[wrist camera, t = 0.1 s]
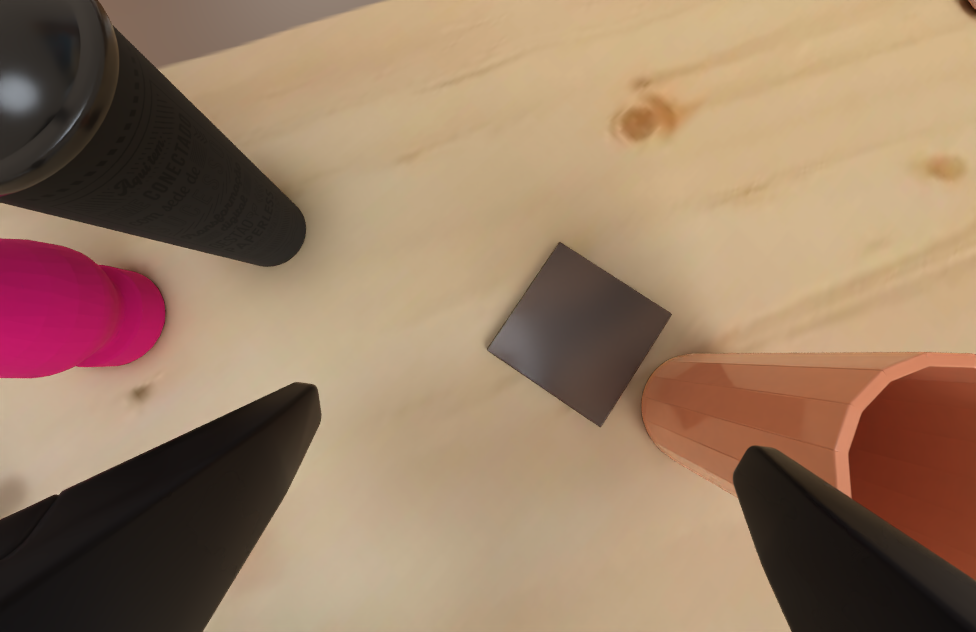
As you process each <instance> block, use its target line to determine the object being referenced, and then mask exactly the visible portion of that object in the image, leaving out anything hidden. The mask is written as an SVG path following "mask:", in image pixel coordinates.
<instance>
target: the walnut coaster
mask: <svg viewBox="0 0 976 632" xmlns="http://www.w3.org/2000/svg"><path fill="white" fill-rule="evenodd" d="M671 315H672V314H671V313H670V312H668V311H666V310H665V309H663V308H662V307H660V306H659V305H657V304H656V303H654V302H652V301H651V300H649V299H648V298H646V297H645V296H643V295H642V294H640V293H638V292H637V291H635V290H634V289H632V288H631V287H629V286H628V285H626V284H624V283H623V282H621V281H620V280H618V279H617V278H615V277H614V276H612V275H610V274H609V273H607V272H606V271H604V270H603V269H601V268H600V267H598V266H596V265H595V264H593V263H592V262H590V261H589V260H587V259H585V258H584V257H582V256H581V255H579V254H578V253H576V252H575V251H573V250H571V249H570V248H568V247H567V246H565V245H564V244H562V243H561V242H559V244H558V245H557V247H556V248H555V249H554V251H553V252H552V254H551V255H550V257H549V258H548V260H547V261H546V263H545V264H544V266H543V267H542V269H541V270H540V272H539V273H538V275H537V276H536V278H535V279H534V281H533V282H532V284H531V285H530V286H529V288H528V289H527V291H526V292H525V294H524V295H523V297H522V298H521V300H520V301H519V303H518V304H517V306H516V307H515V309H514V310H513V312H512V313H511V315H510V316H509V318H508V319H507V320H506V322H505V323H504V325H503V326H502V328H501V329H500V331H499V332H498V334H497V335H496V337H495V338H494V340H493V341H492V343H491V344H490V346H489V347H488V349H487V350H488V351H489V352H491V353H492V354H493V355H495V356H496V357H498V358H499V359H501V360H502V361H504V362H505V363H507V364H508V365H510V366H511V367H513V368H514V369H515V370H517V371H518V372H520V373H521V374H523V375H524V376H526V377H527V378H529V379H530V380H532V381H533V382H535V383H536V384H537V385H539V386H540V387H542V388H543V389H545V390H546V391H548V392H549V393H551V394H552V395H554V396H555V397H557V398H558V399H559V400H561V401H562V402H564V403H565V404H567V405H568V406H570V407H571V408H573V409H574V410H576V411H577V412H579V413H580V414H581V415H583V416H584V417H586V418H587V419H589V420H590V421H592V422H593V423H595V424H596V425H598V426H599V427H601V426H602V425H603V423H604V421H605V420H606V418H607V417H608V415H609V414H610V412H611V410H612V409H613V407H614V406H615V404H616V402H617V401H618V399H619V398H620V396H621V394H622V393H623V391H624V390H625V388H626V387H627V385H628V383H629V382H630V380H631V379H632V377H633V375H634V374H635V372H636V371H637V369H638V368H639V366H640V364H641V363H642V361H643V360H644V358H645V356H646V355H647V353H648V352H649V350H650V348H651V347H652V345H653V344H654V342H655V341H656V339H657V337H658V336H659V334H660V333H661V331H662V329H663V328H664V326H665V325H666V323H667V321H668V320H669V318H670V317H671Z"/></svg>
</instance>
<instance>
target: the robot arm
mask: <svg viewBox="0 0 976 632" xmlns="http://www.w3.org/2000/svg"><path fill="white" fill-rule="evenodd" d="M320 421H321V408H320V401H319V394H318V389H317V387H316V386H315V385H313V384H308V383H301V382H295V383H292V384H290V385H288V386H286V387H284V388H281V389H279V390H277V391H275V392H273V393H271V394H269V395H267V396H264V397H262V398H260V399H258V400H256V401H254V402H252V403H249V404H247V405H245V406H243V407H241V408H239V409H237V410H234V411H232V412H230V413H228V414H226V415H224V416H222V417H220V418H217V419H215V420H213V421H211V422H209V423H207V424H205V425H202V426H200V427H198V428H196V429H194V430H192V431H190V432H187V433H185V434H183V435H181V436H179V437H177V438H175V439H172V440H170V441H168V442H166V443H164V444H162V445H160V446H158V447H155V448H153V449H151V450H149V451H147V452H145V453H143V454H140V455H138V456H136V457H134V458H132V459H130V460H128V461H125V462H123V463H121V464H119V465H117V466H115V467H113V468H110V469H108V470H106V471H104V472H102V473H100V474H98V475H95V476H93V477H91V478H89V479H87V480H85V481H83V482H80V483H78V484H76V485H74V486H72V487H70V488H68V489H65V490H64V491H62V492H61V493H60V494H59V495H52V496H50V497H48V498H46V499H44V500H42V501H40V502H38V503H35V504H33V505H31V506H29V507H27V508H25V509H23V510H20V511H18V512H16V513H14V514H12V515H10V516H7V517H5V518H3V519H1V520H0V632H203V630H204V628H205V627H206V625H207V624H208V622H209V620H210V619H211V617H212V615H213V614H214V612H215V610H216V609H217V607H218V605H219V604H220V602H221V601H222V599H223V597H224V596H225V594H226V592H227V591H228V589H229V587H230V586H231V584H232V582H233V581H234V579H235V577H236V576H237V574H238V573H239V571H240V569H241V568H242V566H243V564H244V563H245V561H246V559H247V558H248V556H249V554H250V553H251V551H252V550H253V548H254V546H255V545H256V543H257V541H258V540H259V538H260V536H261V535H262V533H263V531H264V530H265V528H266V527H267V525H268V523H269V522H270V520H271V518H272V517H273V515H274V513H275V512H276V510H277V508H278V507H279V505H280V503H281V502H282V500H283V498H284V496H285V495H286V493H287V491H288V489H289V487H290V485H291V483H292V481H293V479H294V477H295V475H296V473H297V471H298V469H299V466H300V464H301V462H302V460H303V458H304V456H305V454H306V452H307V450H308V448H309V446H310V444H311V441H312V439H313V437H314V435H315V433H316V431H317V429H318V427H319V424H320ZM733 485H734V488H735V491H736V494H737V496H738V499H739V502H740V505H741V508H742V511H743V514H744V516H745V519H746V522H747V525H748V528H749V531H750V534H751V536H752V539H753V542H754V545H755V548H756V551H757V553H758V556H759V559H760V561H761V564H762V566H763V569H764V571H765V574H766V576H767V578H768V581H769V583H770V585H771V587H772V589H773V592H774V594H775V596H776V598H777V600H778V603H779V605H780V607H781V609H782V612H783V614H784V616H785V618H786V620H787V623H788V625H789V627H790V629H791V631H792V632H976V580H974V579H973V578H971V577H970V576H968V575H967V574H965V573H964V572H962V571H961V570H959V569H958V568H956V567H955V566H953V565H952V564H950V563H949V562H947V561H946V560H944V559H943V558H941V557H939V556H938V555H936V554H935V553H933V552H932V551H930V550H929V549H927V548H926V547H924V546H923V545H921V544H920V543H918V542H917V541H915V540H914V539H912V538H911V537H909V536H908V535H906V534H905V533H903V532H902V531H900V530H899V529H897V528H896V527H894V526H893V525H891V524H890V523H888V522H887V521H885V520H883V519H882V518H880V517H879V516H877V515H876V514H874V513H873V512H871V511H870V510H868V509H867V508H865V507H864V506H862V505H861V504H859V503H858V502H856V501H855V500H853V499H852V498H850V497H849V496H847V495H846V494H844V493H843V492H841V491H840V490H838V489H837V488H835V487H834V486H832V485H830V484H829V483H827V482H826V481H824V480H823V479H821V478H820V477H818V476H817V475H815V474H814V473H812V472H811V471H809V470H808V469H806V468H805V467H803V466H802V465H800V464H799V463H797V462H796V461H794V460H793V459H791V458H790V457H788V456H787V455H785V454H784V453H782V452H781V451H779V450H777V449H775V448H772V447H765V446H758V445H753V446H751V447H749V448H748V449H747V450H746V452H745V453H744V455H743V457H742V458H741V460H740V462H739V464H738V465H737V467H736V469H735V470H734V472H733Z"/></svg>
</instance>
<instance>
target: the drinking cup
mask: <svg viewBox="0 0 976 632" xmlns="http://www.w3.org/2000/svg"><path fill="white" fill-rule="evenodd" d="M0 203H5V204H9V205H13V206H17V207H21V208H25V209H29V210H33V211H37V212H41V213H46V214H50V215H54V216H58V217H62V218H66V219H70V220H74V221H78V222H82V223H86V224H91V225H95V226H99V227H103V228H107V229H111V230H115V231H119V232H123V233H127V234H132V235H136V236H140V237H144V238H148V239H152V240H156V241H160V242H164V243H168V244H173V245H177V246H181V247H185V248H189V249H193V250H197V251H201V252H205V253H209V254H213V255H218V256H222V257H226V258H230V259H234V260H238V261H242V262H246V263H250V264H254V265H259V266H266V267H269V266H276V265H279V264H282V263H284V262H286V261H288V260H289V259H291V258H292V257H293V256H294V255H295V254H296V253H297V252H298V251H299V249H300V248H301V246H302V244H303V242H304V239H305V234H306V225H305V220H304V217H303V215H302V213H301V211H300V210H299V208H298V207H297V206H296V205H295V204H294V203H293V202H292V201H291V200H290V199H289V198H288V197H287V196H286V195H285V194H284V193H283V192H282V191H281V190H280V189H279V188H278V187H277V186H275V185H274V184H273V183H272V182H271V181H270V180H269V179H268V178H267V177H266V176H265V175H264V174H263V173H262V172H261V171H260V170H259V169H258V168H257V167H256V166H255V165H254V164H253V163H252V162H251V161H250V160H249V159H248V158H247V157H246V156H245V155H244V154H243V153H242V152H241V151H240V150H239V149H238V148H237V147H236V146H235V145H234V144H233V143H232V142H231V141H230V140H229V139H228V138H227V137H226V136H225V135H224V134H223V133H222V132H221V131H220V130H219V129H218V128H217V127H216V126H215V125H213V124H212V123H211V122H210V121H209V120H208V119H207V118H206V117H205V116H204V115H203V114H202V113H201V112H200V111H199V110H198V109H197V108H196V107H195V106H194V105H193V104H192V103H191V102H190V101H189V100H188V99H187V98H186V97H185V96H184V95H183V94H182V93H181V92H180V91H179V90H178V89H177V88H176V87H175V86H174V85H173V84H172V83H171V82H170V81H169V80H168V79H167V78H166V77H165V76H164V75H163V74H162V73H161V72H160V71H159V70H158V69H157V68H156V67H155V66H154V65H153V64H151V63H150V62H149V61H148V60H147V59H146V58H145V57H144V56H143V55H142V54H141V53H140V52H139V51H138V50H137V49H136V48H135V47H134V46H133V45H132V44H131V43H130V42H129V41H128V40H127V39H126V38H125V37H124V36H123V35H122V34H121V33H120V32H119V31H118V30H117V29H116V28H115V27H114V26H113V25H112V24H111V21H110V19H109V17H108V15H107V14H106V12H105V11H104V8H103V7H102V5H101V4H100V3H99V1H98V0H0Z"/></svg>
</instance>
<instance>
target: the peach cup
mask: <svg viewBox="0 0 976 632" xmlns="http://www.w3.org/2000/svg"><path fill="white" fill-rule="evenodd" d="M641 408H642V417H643V421H644V424H645V427H646V430H647V432H648V434H649V436H650V437H651V439H652V440H653V442H654V443H655V444H656V446H657V447H658V448H659V449H660V450H661V451H662V452H663V453H665V454H666V455H668V456H669V457H670V458H671V459H672V460H674V461H676V462H677V463H679V464H681V465H682V466H684V467H686V468H687V469H689V470H691V471H693V472H694V473H696V474H698V475H699V476H701V477H703V478H705V479H706V480H708V481H710V482H711V483H713V484H715V485H717V486H718V487H720V488H722V489H723V490H725V491H727V492H728V493H730V494H732V495H734V496H735V497H737V498H738V496H737V494H736V491H735V488H734V485H733V472H734V470H735V469H736V467H737V465H738V464H739V462H740V460H741V458H742V457H743V455H744V453H745V452H746V450H747V449H748V448H749V447H751V446H753V445H758V446H765V447H772V448H775V449H777V450H779V451H781V452H782V453H784V454H785V455H787V456H788V457H790V458H791V459H793V460H794V461H796V462H797V463H799V464H800V465H802V466H803V467H805V468H806V469H808V470H809V471H811V472H812V473H814V474H815V475H817V476H818V477H820V478H821V479H823V480H824V481H826V482H827V483H829V484H830V485H832V486H834V487H835V488H837V489H838V490H840V491H841V492H843V493H844V494H846V495H847V496H849V497H850V498H852V499H853V500H855V501H856V502H858V503H859V504H861V505H862V506H864V507H865V508H867V509H868V510H870V511H871V512H873V513H874V514H876V515H877V516H879V517H880V518H882V519H883V520H885V521H887V522H888V523H890V524H891V525H893V526H894V527H896V528H897V529H899V530H900V531H902V532H903V533H905V534H906V535H908V536H909V537H911V538H912V539H914V540H915V541H917V542H918V543H920V544H921V545H923V546H924V547H926V548H927V549H929V550H930V551H932V552H933V553H935V554H936V555H938V556H939V557H941V558H943V559H944V560H946V561H947V562H949V563H950V564H952V565H953V566H955V567H956V568H958V569H959V570H961V571H962V572H964V573H965V574H967V575H968V576H970V577H971V578H973V579H974V580H976V354H972V353H937V352H868V353H695V354H686V355H680V356H677V357H674V358H672V359H670V360H668V361H666V362H665V363H663V364H662V365H660V366H659V367H658V368H657V369H656V370H655V371H654V372H653V374H652V375H651V376H650V378H649V380H648V382H647V384H646V386H645V389H644V392H643V396H642V407H641Z"/></svg>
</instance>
